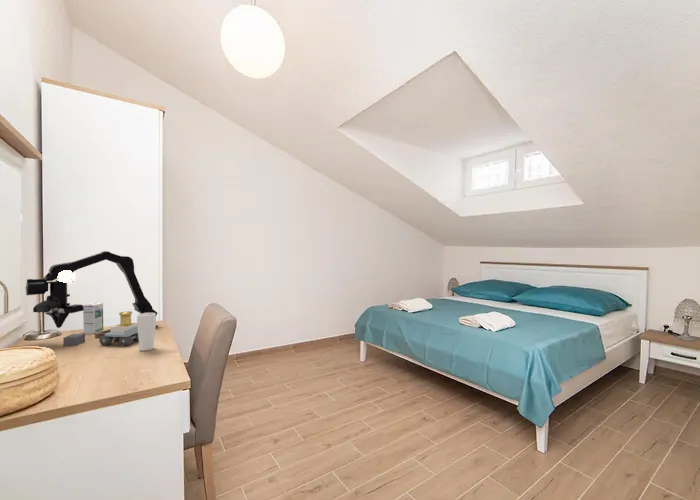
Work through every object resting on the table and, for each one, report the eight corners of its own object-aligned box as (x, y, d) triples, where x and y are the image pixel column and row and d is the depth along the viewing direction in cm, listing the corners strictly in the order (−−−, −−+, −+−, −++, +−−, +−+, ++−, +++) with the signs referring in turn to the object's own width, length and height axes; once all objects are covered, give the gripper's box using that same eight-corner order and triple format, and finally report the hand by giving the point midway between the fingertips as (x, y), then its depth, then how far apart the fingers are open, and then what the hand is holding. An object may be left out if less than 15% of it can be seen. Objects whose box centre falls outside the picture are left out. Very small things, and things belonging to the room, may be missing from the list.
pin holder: (108, 333, 161) (108, 329, 160) (124, 333, 160) (124, 329, 160) (95, 337, 153) (95, 333, 152) (111, 338, 152) (111, 334, 152)
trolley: (116, 338, 151) (116, 323, 151) (144, 339, 150) (144, 324, 150) (98, 345, 141) (98, 329, 141) (127, 346, 140) (127, 330, 140)
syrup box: (94, 333, 159) (94, 304, 159) (82, 333, 159) (82, 304, 159) (103, 330, 165) (103, 302, 165) (92, 330, 165) (92, 302, 165)
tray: (124, 328, 151) (124, 322, 151) (140, 328, 150) (140, 322, 150) (110, 332, 143) (110, 326, 143) (127, 333, 142) (127, 327, 142)
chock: (72, 342, 146) (72, 333, 146) (85, 341, 147) (85, 333, 147) (63, 346, 140) (63, 337, 140) (76, 346, 141) (76, 337, 141)
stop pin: (124, 327, 149) (124, 311, 149) (134, 328, 149) (134, 311, 149) (116, 330, 145) (116, 313, 144) (126, 331, 144) (126, 313, 144)
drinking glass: (133, 350, 136) (133, 314, 136) (149, 345, 142) (149, 311, 141) (142, 352, 133) (142, 316, 132) (159, 348, 139) (159, 313, 138)
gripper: (19, 295, 136) (20, 331, 137) (60, 296, 135) (61, 333, 135) (46, 291, 147) (46, 325, 148) (84, 292, 146) (84, 326, 147)
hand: (59, 327), depth 144 cm, fingers closed
